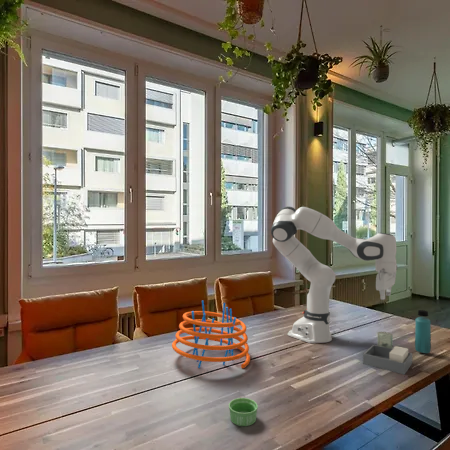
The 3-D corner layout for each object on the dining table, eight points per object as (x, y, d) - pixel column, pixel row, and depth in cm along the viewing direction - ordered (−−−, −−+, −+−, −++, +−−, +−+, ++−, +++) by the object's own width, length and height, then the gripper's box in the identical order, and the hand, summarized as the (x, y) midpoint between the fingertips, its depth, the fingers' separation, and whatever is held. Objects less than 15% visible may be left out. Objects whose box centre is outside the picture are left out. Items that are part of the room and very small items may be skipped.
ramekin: (233, 409, 114) (233, 395, 113) (260, 413, 111) (260, 400, 111) (225, 424, 105) (225, 410, 105) (254, 430, 102) (254, 415, 102)
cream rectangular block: (389, 368, 143) (389, 352, 143) (395, 360, 151) (395, 345, 150) (402, 372, 140) (402, 356, 139) (408, 364, 147) (408, 348, 147)
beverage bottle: (433, 357, 157) (434, 313, 156) (417, 355, 158) (417, 312, 158) (427, 351, 163) (428, 309, 163) (412, 350, 165) (413, 308, 164)
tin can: (375, 352, 162) (375, 334, 162) (379, 348, 167) (379, 330, 167) (390, 355, 158) (390, 337, 158) (393, 351, 163) (394, 333, 163)
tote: (362, 365, 147) (363, 353, 147) (372, 355, 158) (373, 344, 158) (404, 376, 137) (404, 364, 137) (412, 365, 148) (412, 353, 148)
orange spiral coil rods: (203, 341, 177) (209, 295, 178) (263, 363, 157) (269, 310, 158) (153, 357, 149) (160, 302, 149) (219, 386, 129) (227, 322, 129)
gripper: (387, 271, 151) (387, 302, 152) (398, 265, 167) (398, 294, 168) (372, 269, 155) (372, 300, 156) (384, 264, 171) (384, 292, 172)
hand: (385, 297), depth 162 cm, fingers open, 8 cm apart
